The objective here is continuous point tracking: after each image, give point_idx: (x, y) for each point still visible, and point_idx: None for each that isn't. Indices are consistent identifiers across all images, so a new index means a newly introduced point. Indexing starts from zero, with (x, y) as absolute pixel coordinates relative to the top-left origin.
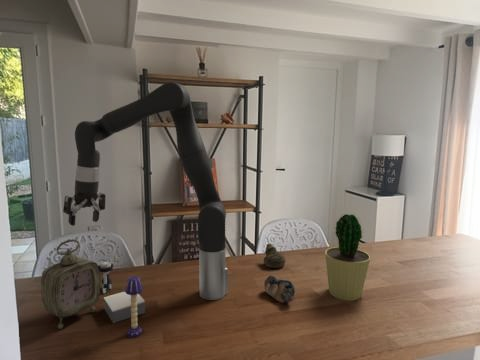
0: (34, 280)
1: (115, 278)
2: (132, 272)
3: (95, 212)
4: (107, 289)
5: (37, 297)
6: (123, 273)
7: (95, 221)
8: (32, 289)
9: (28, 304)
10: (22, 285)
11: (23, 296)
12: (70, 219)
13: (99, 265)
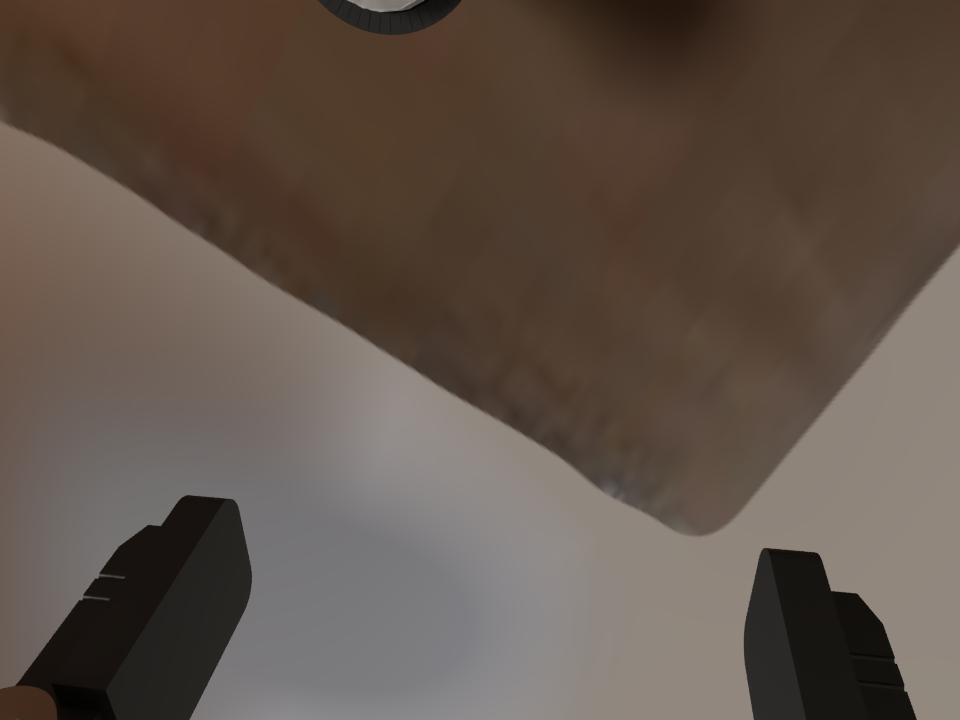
0: (675, 476)
1: (253, 36)
2: (67, 17)
3: (128, 718)
4: None
5: (844, 239)
6: (148, 72)
7: (231, 509)
8: (771, 375)
9: (957, 187)
10: (762, 467)
11: (874, 328)
12: (910, 714)
13: (429, 13)
